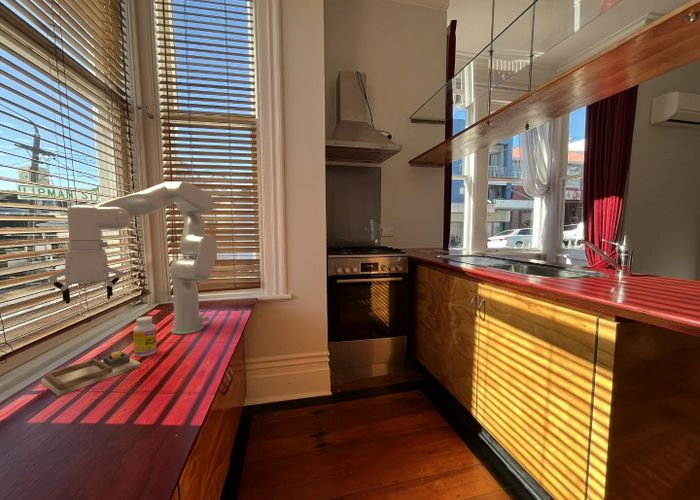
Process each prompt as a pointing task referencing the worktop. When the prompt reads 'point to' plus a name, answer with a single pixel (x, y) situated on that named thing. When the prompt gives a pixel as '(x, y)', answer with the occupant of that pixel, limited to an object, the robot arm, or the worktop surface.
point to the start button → (116, 355)
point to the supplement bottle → (144, 337)
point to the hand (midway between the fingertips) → (89, 300)
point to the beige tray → (87, 373)
